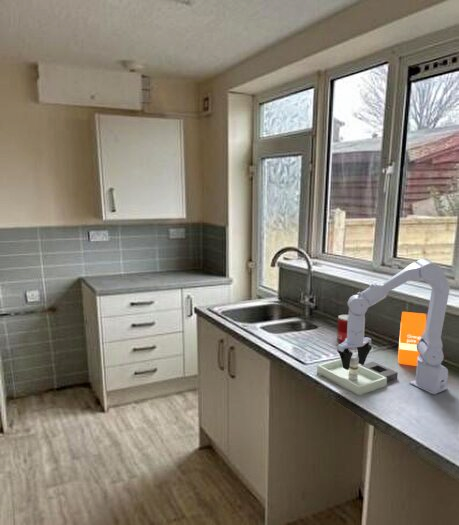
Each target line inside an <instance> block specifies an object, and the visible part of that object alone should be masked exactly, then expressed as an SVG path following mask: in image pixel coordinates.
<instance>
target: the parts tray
mask: <svg viewBox="0 0 459 525" xmlns="http://www.w3.org/2000/svg"><path fill="white" fill-rule="evenodd" d="M316 369H317V370H316V373H317V374H319V375H320V376H322V377H324V378H325V379H328V380H329V381H332V382H333V383H335V384H337V385H339V386H340V387H342V388H344V389H346V390H348V391H349V392H351V393H353V394H355V395H357V396H358V397H359V396H362V395H364V394H367V393H368V394H369V393H371V392H373V391H376V390H378V389H382V388H384V387H387V383H388V382H387V378H386V377H384V376H382V375H380V374H378V373H376V372H374V371H371V370H369V369H367V368H365V367H363V366H361V364H358V380H355V381H353V380H350V379H349V378H348V376H349V370H346V369H344V368H343V365H342V360H341V358H337V359H335V360H331V361H327V362H324V363H320V364H317V365H316ZM349 369H350V368H349Z"/></svg>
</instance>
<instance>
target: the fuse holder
mask: <svg viewBox="0 0 459 525" xmlns="http://www.w3.org/2000/svg"><path fill="white" fill-rule="evenodd" d="M360 365H361V364H360ZM361 366H363V367H365V368H367V369H369V370H371V371H374V372H376V373H378V374H380V375H382V376H384V377H386V378H387V383H391V382H393V381H395V380H398V371H395V370H393V369H391V368H389V367H386V366H385V365H381V364H379V363H377V362H375V361H370V362H367V363H364V365H361Z"/></svg>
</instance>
